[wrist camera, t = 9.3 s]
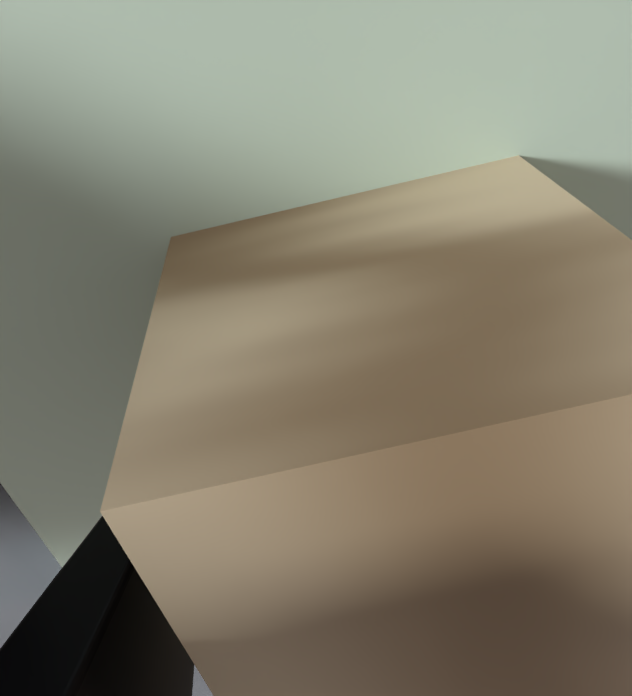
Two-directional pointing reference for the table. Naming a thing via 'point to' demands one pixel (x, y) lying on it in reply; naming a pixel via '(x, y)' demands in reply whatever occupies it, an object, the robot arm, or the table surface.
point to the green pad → (245, 166)
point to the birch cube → (391, 445)
